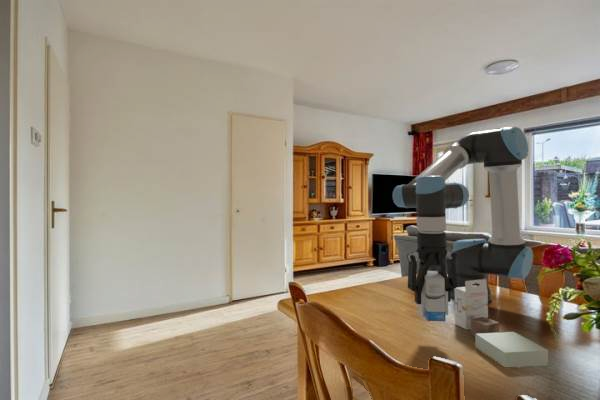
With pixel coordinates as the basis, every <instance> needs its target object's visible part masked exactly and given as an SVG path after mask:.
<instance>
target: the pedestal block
mask: <svg viewBox="0 0 600 400" xmlns="http://www.w3.org/2000/svg"><path fill="white" fill-rule="evenodd" d="M474 339H475V342H474V343H475V345H474V346H475V348H476V349H477V350H479V351H480V352H482V353H483V354H484V353H485V354H484V355H486V356H487V355H488V356H487V357H489V356H490V357H491V358H493V359H494V360H495V362H496V361H497V362H498V363H499V364H498V363H497V362H496V363H497V364H498V365H500V364H501V365H502V366H504V367H516V368H522V367H521V366H532V367H544V366H549V349H547V348H545V347H543V346H541V345H539V344H537V343H536V342H534V341H532V340H531V339H528V338H526V337H524V336H522V335H521V334H518V333H517V332H515V331H504V332H500V331H499V333H478V334H475V338H474ZM490 357H489V358H490ZM491 358H490V359H491ZM493 359H492V360H493ZM494 360H493V361H494ZM501 365H500V366H501ZM502 366H501V367H502ZM519 366H520V367H519ZM504 367H503V368H504Z"/></svg>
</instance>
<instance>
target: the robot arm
mask: <svg viewBox="0 0 600 400" xmlns="http://www.w3.org/2000/svg"><path fill="white" fill-rule="evenodd" d="M442 152H443V153H442V155H440V156H439V157H438V158H437V159H436V160H435V161H434V162H432V163H431V164H430V165H429V166H428V167H426V168H425V169H424V170H423V171H421V172H420V174H418V175H417V176H416V177H415V178H413V179H412V180H411V181H409V183H407V184H400V185H397V186H395V187H394V188H393V191H392V200H393V203H394V204H395V205H396V206H397V207H398V208H405V209H410V208H411V209H412V208H415V209H416V230H417V233H416V243H417V249H416V250H415V252H414V253H407V255H406V258H407V261H408V270H407V271H408V272H407V288H408V289H409V290H410V291H412V292H414V302H415V304H417V314H418V315H420V317H422V318H425V293H423V292H422V289H423V286H424V282H425V276H426V275H427V271H430V266H432V265H435V266H436V268H437V271H438V273H439V274H441V275H442V277H443V278H444V279H445V316H449V303H450V302H451V298H452V299H454V300H455V292H454V288H457V287H465V281H472V280H483V279H486V282H487V290H488V303H489V302H491V301H492V292H491V290H490V287H489V283H488V280H487V275H491V276H498V277H503V278H508V279H515V280H522V279H525V278H526V277H527V276H528V275H529V274H530V271H531V269H532V267H533V261H534V253H533V249H532V248H531V247H529V246H526V245H527V244H526V240H525V239H524V238H523V237H522V236H521V229H520V227H521V225H520V208H519V190H518V189H519V188H518V187H519V186H518V170H519V169H518V168H520V167H521V166H522V165H523V163H522V161H523V160H525V159H526V158H527V157H528V155H529V153H528V152H529V144H528V139H527V137H526V135H525V133H524V132H523V130H522V129H521V128H519V127H517V126H504V127H500V128H493V129H487V130H481V131H475V132H471V133H468V134H466V135H463V136H462V137H460V138H459V139H457V140H454V142H452V143H450V144H449V145H448V146H447V147H446V148H445V149H444V150H443V151H442ZM481 163H483V168H484V169H485V170H486V171H487V172H488V178H489V179H488V180H489V181H488V182H489V196H490V197H489V198H490V199H489V200H490V214H491V215H490V217H491V234H492V236H491V237H490V238H488V240H486V239H485V238H469V239H468V238H467V239H459V240H456V241H454V242H453V247H452V248H453V249H452V251H448V249H447V245H446V241H447V233H446V232H445V231H446V230H447V217H446V215H447V214H446V210H447V209H459V208H461V207H463V206H465V205H466V204H467V203H468V201H469V198H470V193H469V190H468V188H467V187H466V185H464V184H462V183H458V182H455V181H454V182H446V181H447V180H448V179H449V178H450V177H451V176H452V175H453V174H454V173H455V172H457V170H460V169H463V168H465V167H466V166H467V165H471V164H481ZM445 246H446V247H445ZM445 256H446V270H445V264H444V261H443V259H444V258H445ZM418 258H419V260H420V261H419V265H418V264H417V261H418ZM418 266H419V268H418ZM417 268H418V271H417ZM475 285H476V286H479V285H480V284H477V283H475V284H473V285H472V286H475Z"/></svg>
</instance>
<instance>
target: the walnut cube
mask: <svg viewBox="0 0 600 400" xmlns="http://www.w3.org/2000/svg"><path fill="white" fill-rule="evenodd" d="M499 332H500V322H498V321H497V320H493V319H491V318H489V317H488V318H485V317H479V318H474V319H471V329H470V337H472V338H474V339H475V334H478V333H499Z"/></svg>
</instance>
